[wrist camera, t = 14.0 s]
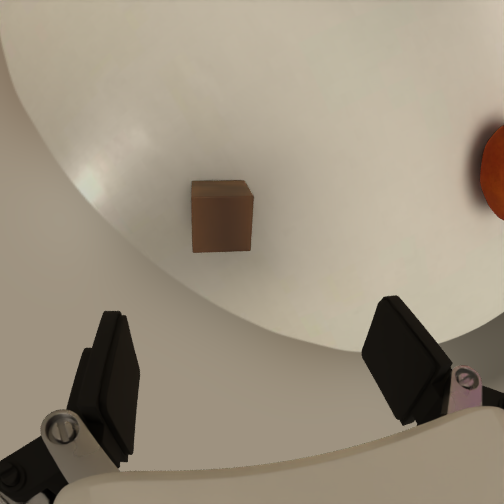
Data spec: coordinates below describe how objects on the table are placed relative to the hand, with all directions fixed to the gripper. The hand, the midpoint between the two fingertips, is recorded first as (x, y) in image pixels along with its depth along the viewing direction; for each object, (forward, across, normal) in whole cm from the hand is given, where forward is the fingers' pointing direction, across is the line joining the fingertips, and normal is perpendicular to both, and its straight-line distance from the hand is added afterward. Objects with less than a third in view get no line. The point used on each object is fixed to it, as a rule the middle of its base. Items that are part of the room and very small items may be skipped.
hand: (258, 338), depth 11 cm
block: (+14, 0, 0) cm, 14 cm away
